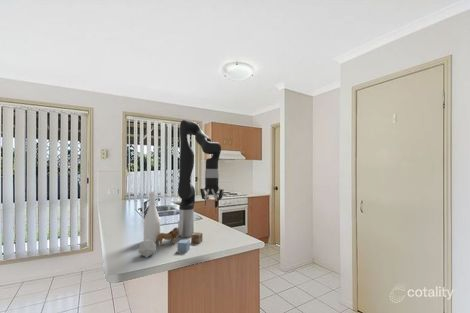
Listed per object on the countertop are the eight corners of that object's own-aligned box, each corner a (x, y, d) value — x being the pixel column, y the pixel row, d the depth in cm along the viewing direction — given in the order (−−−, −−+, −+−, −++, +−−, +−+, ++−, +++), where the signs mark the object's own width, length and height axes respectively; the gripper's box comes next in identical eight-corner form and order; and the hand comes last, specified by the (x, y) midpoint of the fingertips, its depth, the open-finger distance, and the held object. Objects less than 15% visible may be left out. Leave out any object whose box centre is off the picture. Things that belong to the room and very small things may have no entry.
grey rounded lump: (145, 252, 127) (134, 240, 123) (160, 244, 128) (149, 232, 124) (144, 264, 120) (133, 251, 115) (159, 255, 120) (149, 242, 116)
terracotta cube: (205, 208, 133) (205, 199, 133) (209, 206, 138) (209, 198, 138) (214, 208, 131) (214, 199, 132) (217, 207, 136) (217, 198, 136)
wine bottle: (163, 240, 146) (164, 191, 147) (152, 245, 137) (152, 192, 138) (151, 238, 150) (152, 190, 151) (140, 242, 141) (140, 192, 142)
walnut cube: (191, 243, 141) (191, 234, 141) (194, 240, 145) (194, 232, 146) (199, 243, 139) (199, 235, 140) (202, 241, 144) (202, 232, 144)
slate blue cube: (177, 252, 126) (177, 242, 126) (180, 249, 131) (180, 239, 131) (186, 252, 125) (186, 243, 126) (189, 249, 130) (189, 240, 131)
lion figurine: (178, 241, 144) (178, 226, 144) (180, 243, 139) (180, 228, 140) (152, 244, 138) (153, 229, 138) (154, 247, 133) (154, 231, 133)
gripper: (197, 177, 134) (197, 207, 133) (221, 177, 129) (220, 209, 129) (203, 176, 141) (203, 205, 140) (226, 176, 136) (226, 206, 136)
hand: (211, 206), depth 135 cm, fingers closed on terracotta cube, 5 cm apart
